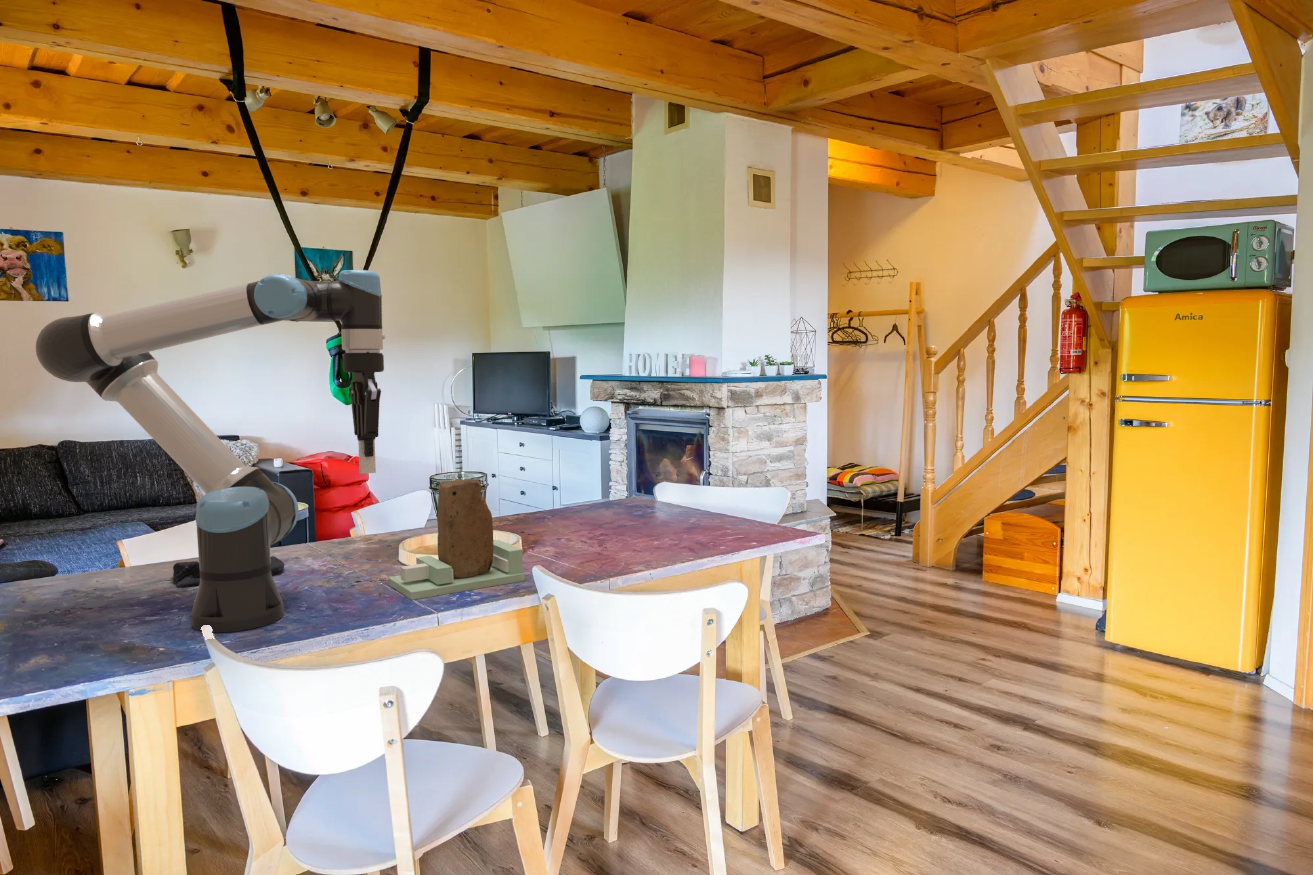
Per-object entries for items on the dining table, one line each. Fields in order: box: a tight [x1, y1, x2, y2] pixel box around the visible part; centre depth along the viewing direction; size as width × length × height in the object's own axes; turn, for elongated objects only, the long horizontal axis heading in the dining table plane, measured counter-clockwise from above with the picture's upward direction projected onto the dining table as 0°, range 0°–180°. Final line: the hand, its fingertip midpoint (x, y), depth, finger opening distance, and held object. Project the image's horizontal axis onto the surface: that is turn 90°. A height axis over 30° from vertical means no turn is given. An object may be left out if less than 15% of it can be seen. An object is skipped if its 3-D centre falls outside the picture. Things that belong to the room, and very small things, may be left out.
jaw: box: [399, 555, 453, 585], centre depth 180 cm, size 8×12×3 cm
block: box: [437, 478, 494, 578], centre depth 185 cm, size 11×8×20 cm
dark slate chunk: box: [172, 555, 285, 588], centre depth 192 cm, size 15×22×5 cm
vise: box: [387, 539, 526, 601], centre depth 184 cm, size 24×14×6 cm, turn 125°
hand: (367, 472), depth 172 cm, fingers closed
